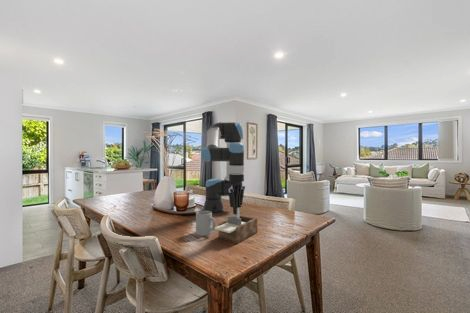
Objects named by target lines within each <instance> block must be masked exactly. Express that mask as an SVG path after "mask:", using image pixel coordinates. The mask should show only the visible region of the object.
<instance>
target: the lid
mask: <svg viewBox="0 0 470 313" xmlns="http://www.w3.org/2000/svg"><path fill="white" fill-rule="evenodd" d="M227 220H228V222H227V223H225V224H223V225H220V226H219V225H218V226H215V229H214V230H215V231H218V232H219V231H223V232H227V233H230V232H233V231H235V230H236V227H237V226H239V225H241V224H244V223H246V222H241V218H237V217H233V215H232V216H231V215H230V216H227Z"/></svg>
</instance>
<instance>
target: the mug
mask: <svg viewBox="0 0 470 313" xmlns="http://www.w3.org/2000/svg"><path fill="white" fill-rule="evenodd" d="M215 227H217V226H216V219H215V218H214V217H213V213H212V212H211V211H203V210H198V211H196V212H195V235H196V236H199V237H205V236H206V237H207V236H211V235H212V233H213V231H214V230H215Z"/></svg>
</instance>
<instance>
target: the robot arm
mask: <svg viewBox="0 0 470 313" xmlns="http://www.w3.org/2000/svg"><path fill="white" fill-rule="evenodd" d="M243 132H244V131H243V126H242V124H241V122H221V121H220V122H216V123H213V124H212V125H210V127H208V128H207V131H206V137H207V140H206V146H205V147H202V148H201V153H200V154H201V161H203V162H226V175H225V177H224V179H223V180H222V178H221V177H219V178H216V177H215V178H211V179H207V180H206V181H205V201H204V205H203V208H202V209H203V210H204V211H211V212H212V214H214V213H216V214H217V213H220V212H223V211H224V203H223V201H222V197H228V199H229V200H228V201H229V206H230V207H231V208H232V211H233V212H232V214H233V215H232V217H237V218H239V215H240V213H241V212H240V209H241V208H242V206H243V201H244V195H245V194H244V193H245V188H246V186H245V185H243V182H244V181H245V175H244V173H245V145H244V143H242V140H243V139H244V133H243ZM220 140H224V143H225V144H226V147H220ZM203 210H202V211H203Z"/></svg>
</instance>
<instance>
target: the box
mask: <svg viewBox="0 0 470 313" xmlns="http://www.w3.org/2000/svg"><path fill="white" fill-rule="evenodd" d="M239 218H241V222H246V223H244V224H241V225H239V226H237V227H236V230H235V231H233V232H230V233H227V232H223V231H219V230H218V239H220V240H225V241H228V242H231V243H236V244H241V243H242V242H244V241H245V240H247V239H249V238H250V237H252V236H254V235H256V234H257V233H258V218H256V217H251V216H245V215H241V214H239ZM227 222H228V219H225V220H223V221H221V222H218V226H220V225H223V224H225V223H227Z"/></svg>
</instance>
